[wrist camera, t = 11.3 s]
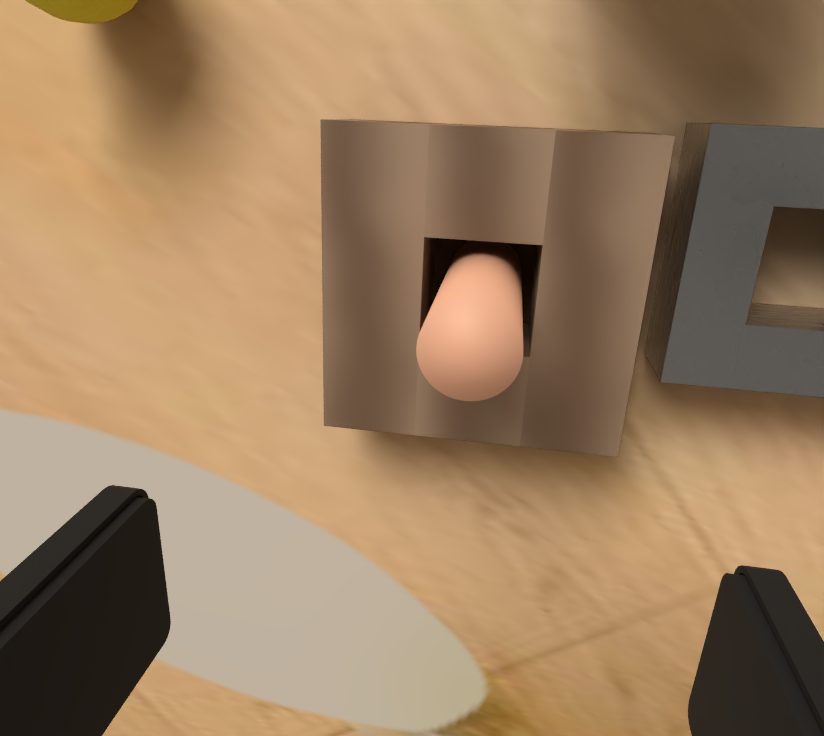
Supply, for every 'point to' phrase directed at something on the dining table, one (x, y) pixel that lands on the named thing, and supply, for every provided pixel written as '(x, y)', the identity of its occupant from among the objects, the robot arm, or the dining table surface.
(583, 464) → the dining table surface
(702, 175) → the pin mount
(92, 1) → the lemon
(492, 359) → the pin
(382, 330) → the socket block
